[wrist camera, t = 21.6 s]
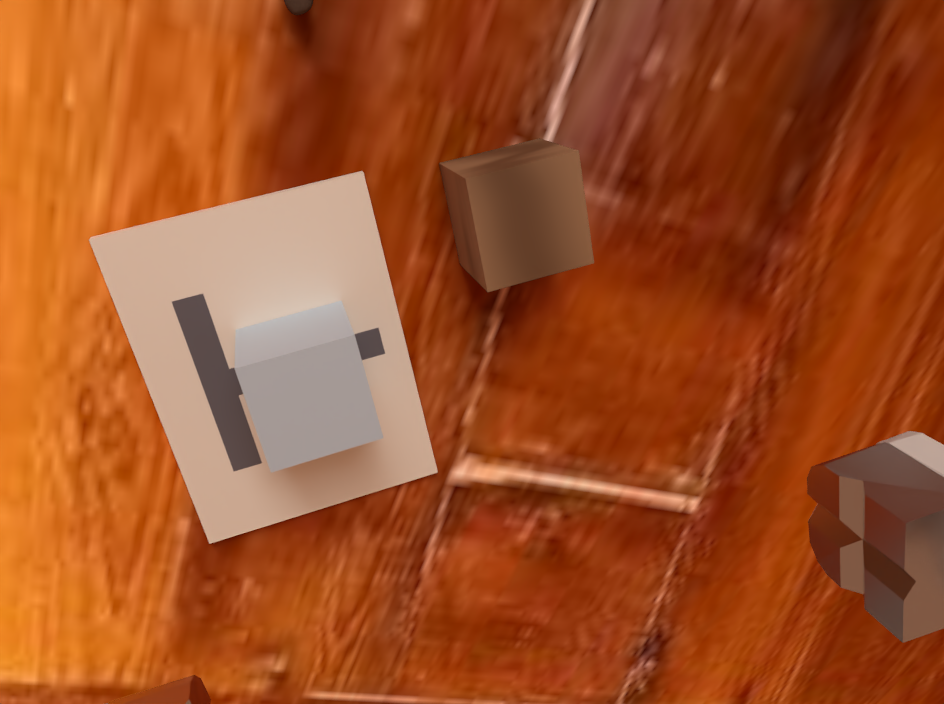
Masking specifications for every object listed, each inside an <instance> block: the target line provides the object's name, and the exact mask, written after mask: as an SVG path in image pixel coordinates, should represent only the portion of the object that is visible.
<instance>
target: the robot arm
mask: <svg viewBox="0 0 944 704" xmlns="http://www.w3.org/2000/svg"><path fill="white" fill-rule="evenodd" d="M807 494H808V495H809V496H810V497H811V498H812V499H814V500H815V501H816V502H817V503H818V504H817V506H816V508H815V510H814V512H813V514H812V515H811V517H810V519H809V521H808V524H809V537H810V544H811V546H812V548H813V551H814V553H815V556H816V558H817V561H818V562H819V564H820V565H821V567H822V568H823V569H824V571H825V572H826V574H827V575H828V576H829V577H830V578H831V579H832V580H833V581H835V582H836V583H837V584H838V585H839V586H840V587H841V588H845V589H848V590H851V591H854V592H858V593H861V594H863V598H864V607H865V610H867V611H868V612H869V613H870V614H871V615H872V616H873V617H874V618H876V619H877V620H878V621H879V622H880V623H881V624H882V625H883V626H885V627H886V628H887V629H888V630H889V631H890V632H891V633H892V634H894V635H895V636H896V637H897V638H898V639H899V640H900V641H901V642H906V641H909V640H912V639H915V638H918V637H920V636H923V635H926V634H929V633H932V632H935V631H937V630H940V629H943V628H944V445H943V444H941V443H939V442H937V441H935V440H934V439H932V438H930V437H928V436H926V435H925V434H923V433H919V432H912V431H908V432H905V433H903V434H900V435H897V436H895V437H892V438H889V439H886V440H884V441H881V442H878V443H877V444H876V445H873V446H870V447H867V448H864V449H861V450H858V451H855V452H853V453H850V454H847V455H844V456H841V457H838V458H835V459H832V460H829V461H826V462H824V463H821V464H818V465H815V466H812V467H811V469H810V471H809V474H808V477H807ZM210 702H211V699H210V697H209V695H208V692H207V690H206V688H205V686H204V684H203V682H202V680H201V678H199V677H197V676H196V675H192V676H189V677H186V678H183V679H180V680H176V681H173V682H170V683H167V684H164V685H161V686H157V687H154V688H151V689H148V690H145V691H141V692H138V693H135V694H132V695H129V696H126V697H122V698H119V699H116V700H113V701H110V702H109V703H107V704H210Z"/></svg>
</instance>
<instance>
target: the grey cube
mask: <svg viewBox="0 0 944 704" xmlns="http://www.w3.org/2000/svg"><path fill="white" fill-rule="evenodd" d="M235 372H236V375H237V377H238V380H239V383H240V386H241V389H242V392H243V394H244V397H245V400H246V403H247V406H248V409H249V412H250V414H251V417H252V420H253V423H254V426H255V429H256V431H257V434H258V437H259V440H260V443H261V446H262V448H263V451H264V454H265V457H266V460H267V463H268V466H269V468H270V471H271V473H272V472H275V471H278V470H281V469H285V468H288V467H291V466H295V465H298V464H301V463H304V462H308V461H311V460H314V459H317V458H321V457H324V456H327V455H330V454H334V453H337V452H340V451H343V450H347V449H350V448H353V447H356V446H360V445H363V444H366V443H369V442H373V441H376V440H379V439H382V438H383V434H382V431H381V427H380V423H379V420H378V416H377V413H376V409H375V406H374V402H373V398H372V395H371V391H370V388H369V384H368V381H367V377H366V373H365V370H364V366H363V363H362V359H361V356H360V352H359V348H358V345H357V341H356V338H355V334H354V332H353V329H352V327H351V324H350V321H349V319H348V316H347V314H346V311H345V308H344V306H343V303H342V301H338V302H334V303H331V304H327V305H323V306H320V307H316V308H313V309H309V310H305V311H302V312H298V313H294V314H291V315H287V316H284V317H280V318H276V319H273V320H269V321H265V322H262V323H258V324H255V325H251V326H247V327H244V328H240V329H236V335H235Z"/></svg>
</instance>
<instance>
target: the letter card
mask: <svg viewBox="0 0 944 704" xmlns="http://www.w3.org/2000/svg"><path fill="white" fill-rule="evenodd" d="M89 241H90V244H91V246H92V249H93V251H94V254H95V257H96V259H97V262H98V264H99V267H100V269H101V272H102V274H103V277H104V279H105V282H106V284H107V287H108V289H109V292H110V294H111V297H112V299H113V302H114V304H115V307H116V309H117V312H118V314H119V317H120V320H121V322H122V325H123V327H124V330H125V332H126V335H127V337H128V340H129V342H130V345H131V347H132V350H133V352H134V355H135V357H136V360H137V362H138V365H139V367H140V370H141V372H142V375H143V377H144V380H145V382H146V385H147V388H148V390H149V393H150V395H151V398H152V400H153V403H154V405H155V408H156V410H157V413H158V415H159V418H160V420H161V423H162V425H163V428H164V430H165V433H166V435H167V438H168V440H169V443H170V445H171V448H172V450H173V453H174V456H175V458H176V461H177V463H178V466H179V468H180V471H181V473H182V476H183V478H184V481H185V483H186V486H187V488H188V491H189V493H190V496H191V498H192V501H193V503H194V506H195V508H196V511H197V513H198V516H199V519H200V521H201V524H202V526H203V529H204V531H205V534H206V536H207V539H208V541H209V544H211V543H214V542H217V541H220V540H223V539H227V538H230V537H233V536H236V535H239V534H243V533H246V532H249V531H252V530H255V529H259V528H262V527H265V526H268V525H271V524H275V523H278V522H281V521H284V520H287V519H291V518H294V517H297V516H300V515H303V514H307V513H310V512H313V511H316V510H319V509H323V508H326V507H329V506H332V505H335V504H339V503H342V502H345V501H348V500H351V499H354V498H358V497H361V496H364V495H367V494H370V493H374V492H377V491H380V490H383V489H386V488H390V487H393V486H396V485H399V484H402V483H406V482H409V481H412V480H415V479H418V478H422V477H425V476H428V475H431V474H434V473H438V471H437V467H436V463H435V459H434V455H433V451H432V447H431V443H430V439H429V435H428V431H427V427H426V423H425V419H424V415H423V411H422V407H421V403H420V399H419V395H418V391H417V387H416V382H415V378H414V374H413V370H412V366H411V362H410V358H409V354H408V350H407V346H406V342H405V338H404V334H403V330H402V326H401V322H400V318H399V314H398V310H397V306H396V302H395V298H394V294H393V290H392V286H391V282H390V277H389V273H388V269H387V265H386V261H385V257H384V253H383V249H382V245H381V241H380V237H379V233H378V229H377V225H376V221H375V217H374V213H373V209H372V205H371V201H370V197H369V193H368V189H367V185H366V181H365V177H364V172H363V171H360V172H356V173H352V174H348V175H343V176H339V177H335V178H331V179H327V180H323V181H319V182H315V183H311V184H307V185H302V186H298V187H294V188H290V189H286V190H282V191H278V192H274V193H270V194H266V195H261V196H257V197H253V198H249V199H245V200H241V201H237V202H233V203H229V204H225V205H221V206H216V207H212V208H208V209H204V210H200V211H196V212H192V213H188V214H184V215H180V216H175V217H171V218H167V219H163V220H159V221H155V222H151V223H147V224H143V225H139V226H134V227H130V228H126V229H122V230H118V231H114V232H110V233H106V234H102V235H98V236H93V237H91V238H90V239H89ZM338 301H342V303H343V306H344V308H345V311H346V314H347V316H348V319H349V321H350V324H351V327H352V329H353V332H354V334H355V338H356V341H357V345H358V348H359V352H360V356H361V359H362V363H363V366H364V370H365V373H366V377H367V381H368V384H369V388H370V391H371V395H372V398H373V402H374V406H375V409H376V413H377V416H378V420H379V423H380V427H381V431H382V434H383V438H382V439H379V440H376V441H373V442H369V443H366V444H363V445H360V446H356V447H353V448H350V449H347V450H343V451H340V452H337V453H334V454H330V455H327V456H324V457H321V458H317V459H314V460H311V461H308V462H304V463H301V464H298V465H295V466H291V467H288V468H285V469H281V470H278V471H275V472H272V473H271V471H270V468H269V466H268V463H267V460H266V457H265V454H264V451H263V448H262V446H261V443H260V440H259V437H258V434H257V431H256V429H255V426H254V423H253V420H252V417H251V414H250V412H249V409H248V406H247V403H246V400H245V397H244V394H243V392H242V389H241V386H240V383H239V380H238V377H237V375H236V372H235V335H236V329H240V328H244V327H247V326H251V325H255V324H258V323H262V322H265V321H269V320H273V319H276V318H280V317H284V316H287V315H291V314H294V313H298V312H302V311H305V310H309V309H313V308H316V307H320V306H323V305H327V304H331V303H334V302H338Z"/></svg>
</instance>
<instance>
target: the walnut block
mask: <svg viewBox="0 0 944 704" xmlns="http://www.w3.org/2000/svg"><path fill="white" fill-rule="evenodd" d="M439 166H440V170H441V175H442V180H443V185H444V190H445V194H446V199H447V204H448V209H449V214H450V219H451V223H452V228H453V233H454V238H455V243H456V248H457V252H458V257H459V262H460V265H461V266H462V267H463V268H464V269H465V270H466V271H467V272H468V273H469V274H470V275H471V276H472V277H473V278H474V279H475V280H476V281H477V282H478V283H479V284H480V285H481V286H482V287H483V288H484V289H485V290H486V291H487V292H491V291H494V290H498V289H501V288H505V287H509V286H512V285H516V284H520V283H523V282H527V281H531V280H534V279H538V278H541V277H545V276H549V275H552V274H556V273H560V272H563V271H567V270H571V269H574V268H578V267H581V266H585V265H589V264H592V263H594V259H593V252H592V244H591V237H590V230H589V222H588V215H587V208H586V200H585V193H584V186H583V179H582V171H581V164H580V157H579V151H578V150H575V149H572V148H569V147H565V146H562V145H559V144H556V143H552V142H549V141H546V140H543V139H536V140H532V141H528V142H523V143H519V144H515V145H511V146H507V147H503V148H499V149H495V150H491V151H487V152H482V153H478V154H474V155H470V156H466V157H462V158H458V159H454V160H450V161H446V162H442V163H439Z"/></svg>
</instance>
